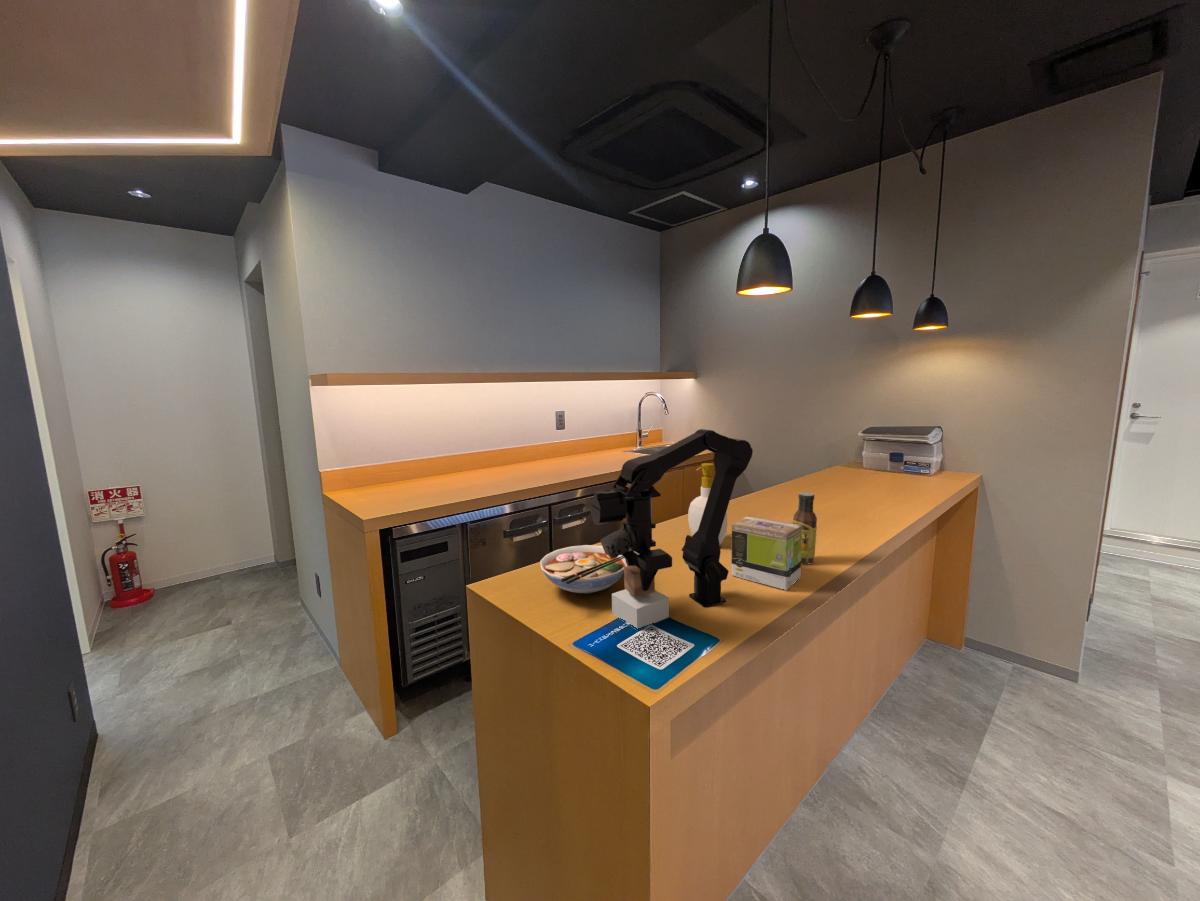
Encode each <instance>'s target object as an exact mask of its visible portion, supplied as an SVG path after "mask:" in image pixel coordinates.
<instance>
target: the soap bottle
mask: <svg viewBox="0 0 1200 901" xmlns="http://www.w3.org/2000/svg"><path fill="white" fill-rule="evenodd" d="M714 467H715V466H714V463H709V462H704V463H701V466H700V467H698V468H696V469H695V470H696V471H697V472H698V471H699V470H702V475H703V476H701V486H700V495H699V496H696V497H695V498H694V499H693V500H692V501H691V502H690V504H689V507H688V513H687V514H688V515H687V520H688V528H689V530H690V534H691V536H693V535H694V534H695V533H696V532H697V531H698V528H699V525H700V522H701V519H702V515H703V512H704V509H705V506H706V502H707V499H708V496H709V493H710V489H711V486H712V483H713V479H714V477H713V472H714ZM727 514H728V513H727V512H726V514H725V518H724V521H723V524H722V527H721V531H720V534H719V544H720V546H721V545H722V543H723V542H724V540H725V536H726V535H727V532H728V531H727V530H728V515H727Z"/></svg>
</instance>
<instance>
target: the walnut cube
mask: <svg viewBox="0 0 1200 901" xmlns="http://www.w3.org/2000/svg"><path fill="white" fill-rule="evenodd" d="M623 577H624V578H623V580H624V582H623V583H624V590H625V589H626V590H627V591H628V592H629V593H631V594H632V595H633V596H634V597H637V596H642V595H646V594H651V593H655V590H656V588H655V586H656V583H655V582H656V579H655V577H656V576H655V577H654V579H653V581H652V583H651V585H650V587H649V589H648V590H647V591H643V588H642V583H641V576H640V569H639V568H638V567H637V566H635V565H631V566H626V567H624V573H623Z"/></svg>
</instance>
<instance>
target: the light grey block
mask: <svg viewBox="0 0 1200 901" xmlns="http://www.w3.org/2000/svg"><path fill="white" fill-rule="evenodd" d="M669 598H670V597H669V596H667V595H665V594H663V593H662V592H660V591H658V590H656V589H655V593H651V594H646V595H642V596H637V597H634V596H633V595H632V594H631V593H629V592H628V591H627V590H626V589H625V588H624V589H622V590H619V591H616V592H613V593H611V614H612V615H614V616H615V617H617V618H618V617H619V618H618V619H620V618H621V619H623V620H625V621H626V622H628V623H630V624H631V625H633V626H634V627H636V628H637V629H638V628H641V627H643V626H646V625H649V624H651V625H653V624H652V623H654V624H655V623H658V622H661V621H663V620H666V619H668V618H669V617H670V616H669V612H670V611H669V610H670V609H669V607H670V606H669V605H670V603H669V601H670V599H669ZM621 619H620V620H621ZM623 620H622V621H623ZM626 622H625V623H626ZM649 626H650V625H649ZM646 627H647V626H646ZM641 629H642V628H641Z"/></svg>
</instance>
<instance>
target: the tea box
mask: <svg viewBox="0 0 1200 901" xmlns="http://www.w3.org/2000/svg"><path fill="white" fill-rule="evenodd" d="M801 544H802V525H799V524H793V522H792V523H791V522H786V521H780V520H775V519H769V518H761V517H756V516H751V515H749V516H748V515H747V516H745V517H743V518H741V519H739V520H737V521H735V522H732V524H731V566H730V567H731V576H733V577H737V578H739V579H743V580H747V581H750V582H754V583H759V584H762V585H766V586H768V587H769V586H770V587H773V588H776V589H780V590H783V589H784V590H783V591H788V588H789V587H790V586H791V585H792V584H793V583H794V582H795V581H797V580H798V579H799V578H800V579H801V574H802V570H801V569H802V564H801ZM800 579H799V580H800ZM799 580H798V581H799ZM798 581H797V582H798ZM792 586H793V585H792ZM792 586H791V587H792ZM791 587H790V588H791ZM790 588H789V589H790Z"/></svg>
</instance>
